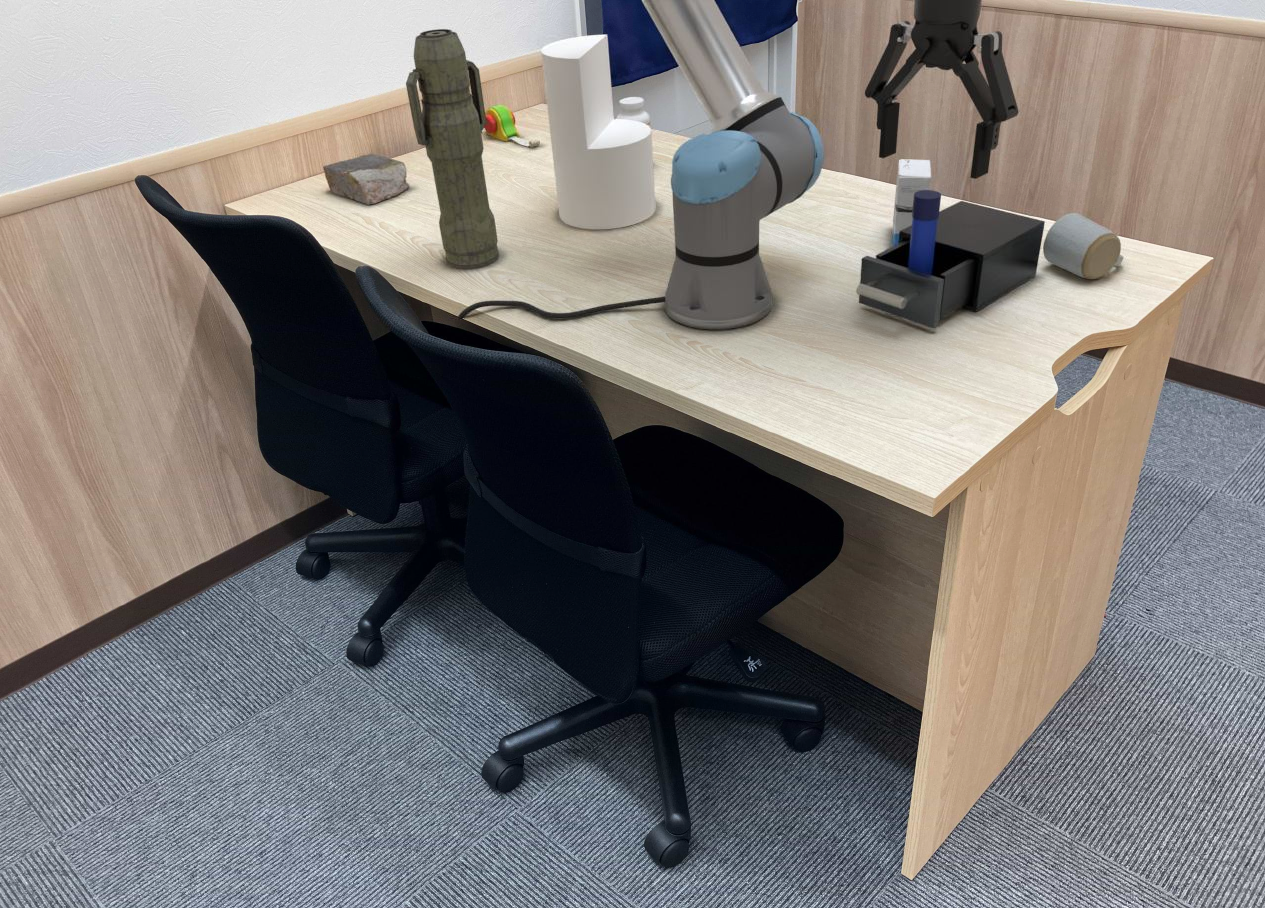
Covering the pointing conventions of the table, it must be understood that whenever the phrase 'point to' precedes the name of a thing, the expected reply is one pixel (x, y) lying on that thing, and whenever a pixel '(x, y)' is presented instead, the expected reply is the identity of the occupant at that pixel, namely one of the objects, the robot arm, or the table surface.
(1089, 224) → the ceramic mug
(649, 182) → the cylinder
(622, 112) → the supplement bottle
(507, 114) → the toy measuring tape
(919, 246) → the marker
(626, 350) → the table surface
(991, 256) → the drawer unit
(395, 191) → the geological specimen
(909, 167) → the ink box
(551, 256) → the table surface
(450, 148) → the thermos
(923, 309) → the drawer
